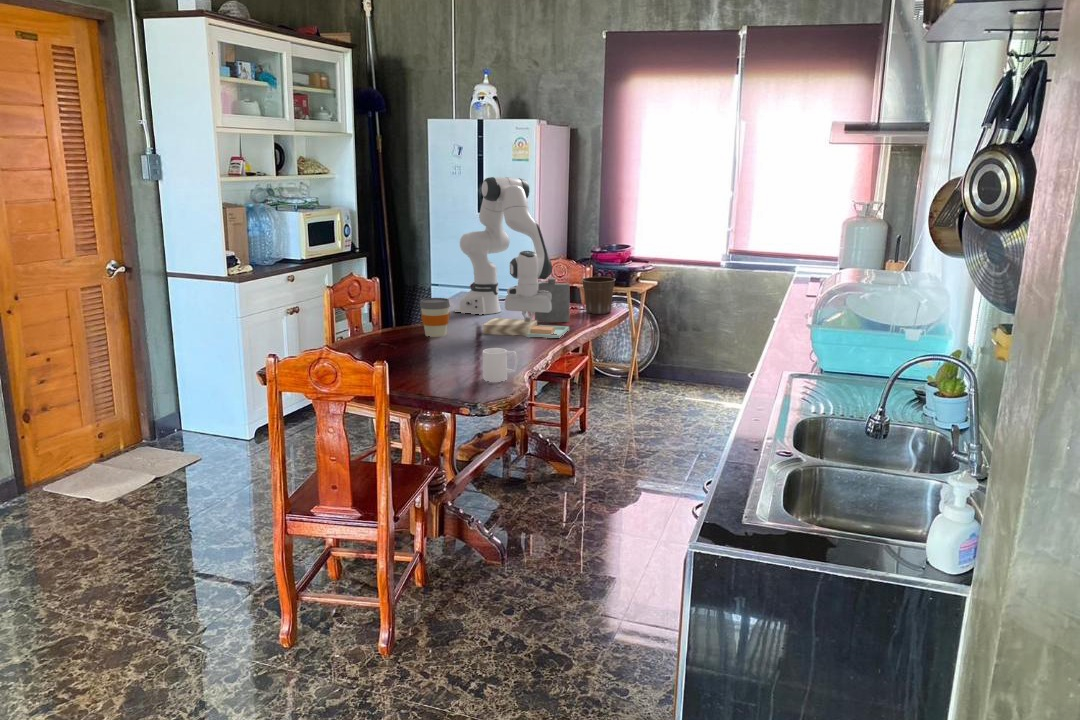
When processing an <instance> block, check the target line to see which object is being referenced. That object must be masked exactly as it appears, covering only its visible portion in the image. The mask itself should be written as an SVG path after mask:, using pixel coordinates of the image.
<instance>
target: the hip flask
mask: <svg viewBox="0 0 1080 720" xmlns="http://www.w3.org/2000/svg"><path fill="white" fill-rule="evenodd" d="M556 281H557V278H554V277H551V278H550V277H548V278H547V282H545V281H544V282H538V283H539V288H538V289H539V290H542V291H549V292H550V293H551V294H552V300H551V304H552V310H551V311H550V312H549V313H544V312H535V314H534V320H537V321H542V322H541V323H554V322H567V323H570V298H571V297H570V295H571V293H570V284H571V283H569V282H568V283H556ZM543 321H544V322H543Z"/></svg>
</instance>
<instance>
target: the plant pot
mask: <svg viewBox="0 0 1080 720" xmlns="http://www.w3.org/2000/svg"><path fill="white" fill-rule="evenodd" d="M615 281H616V278H614V277H611V276H588V277H584V278H582V279H581V282H582V288H583V292H584V293H583V294H584V302H585V303H584V304H585V312H586V313H587V314H593V315H605V314H609V313H611V312H612V303H613V294H614V288H615Z"/></svg>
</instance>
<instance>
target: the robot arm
mask: <svg viewBox="0 0 1080 720" xmlns="http://www.w3.org/2000/svg"><path fill="white" fill-rule="evenodd" d="M480 190H481V195H482V197H483V198H482V201H481V205H480V210H479V214H478V219H479V222H480V223H481V224H482V225H483V226H484V227H485V229H484V230H480V231H477V230H476V231H470V232H468V233H464V234H463V235H462V236H461V238H460V239H459V247H460V250H461V252H462V253H463V254H465V255H466V256H467V257H468V258H469V260H470V261H471V264H472V268H473V281H474V282H472V283H470V285H469V288H470V290H469V291H468V292H467V293H466V294H465V295H463V296H462V297H461V298H460V300H459V303H458V305H459V306H458V307H456V308H455V309H454V313H455V312H461V313H460V314H465V313H471V314H470V315H475V314H479V315H478V316H482V314H484V315H491V314H492V315H493V314H498V313H500V312H502V308H501V305H500V302H499V301H500V300H499V282H498V268H497V266H496V264H495V263H494V262H492V261H490V260H489V258H488V254H500V253H501V252H505V251H506V250H508V248H509V246H510V237H509V235H508V234H507V232H506V231H505V230H504V228H503V219H504V222H505V224H506V226H507V227H508V228H509V229H511V230H512V231H515V232H517V233H520V234H524V235H526V236H528V237H529V238H530V240H532V243H533V246H534V250H535V251H532V250H522V251H520V252H519V253H518V256H517V257H513V258H512V259H511V260H510V262H509V275H510V276H511V277H512V278H513V279H516V280H518V281H517V285H514V286H512V287H509V288H508V289H506V294H507V295H506V296H505V299H504V309H505V310H506V311H512V312H521V315H522V317H523V318H524V320H525V322H532V320H533V317H534V316H535V312H544V313H549V312H550V311H551V310H552V304H551V300H552V294H551V293H550V292H549V291H542V290H539V289H538V288H539V283H540V282H539V280H546V279H548V278H550V276H551V275H552V273H553V264H552V261H551V259H550V256H549V253H548V251H547V247H546V243H545V240H544V237H543V233H542V231H541V228H540V225H539V223H538V222H537V221H536V220H534V219H533V217H532V216H531V213H530V210H529V204H528V203H529V202H528V198H529V195H530V185H529V183H528V181H527V180H525V179H524V178H520V177H519V178H515V177H511V176H510V177H507V176H506V177H505V176H504V177H501V176H500V177H498V176H497V177H494V176H492V177H491V176H490V177H486V178H484V179H483V181H482V183H481V189H480ZM528 312H529V313H530V316H527V313H528Z"/></svg>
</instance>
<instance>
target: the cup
mask: <svg viewBox="0 0 1080 720" xmlns="http://www.w3.org/2000/svg"><path fill="white" fill-rule="evenodd" d="M509 354H513V355H514V356H513V357H514V361H515V363H514V366H513V367H514V368H513V369H511V368H508V355H509ZM518 362H519V361H518V354H517V352H516V351H514V350H507V349H505V348H502V347H501V348H500V347H489V348H485V349H483V350H482V377H483V378H482V379H484V380H485V381H484V380H483V381H484V382H487V381H489V382H488V383H501V381H503V382H505V380H506V381H507V380H508V373H511V374H512V373H515V372H516V371H517V370H518V369H517V367H518V364H519V363H518Z"/></svg>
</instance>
